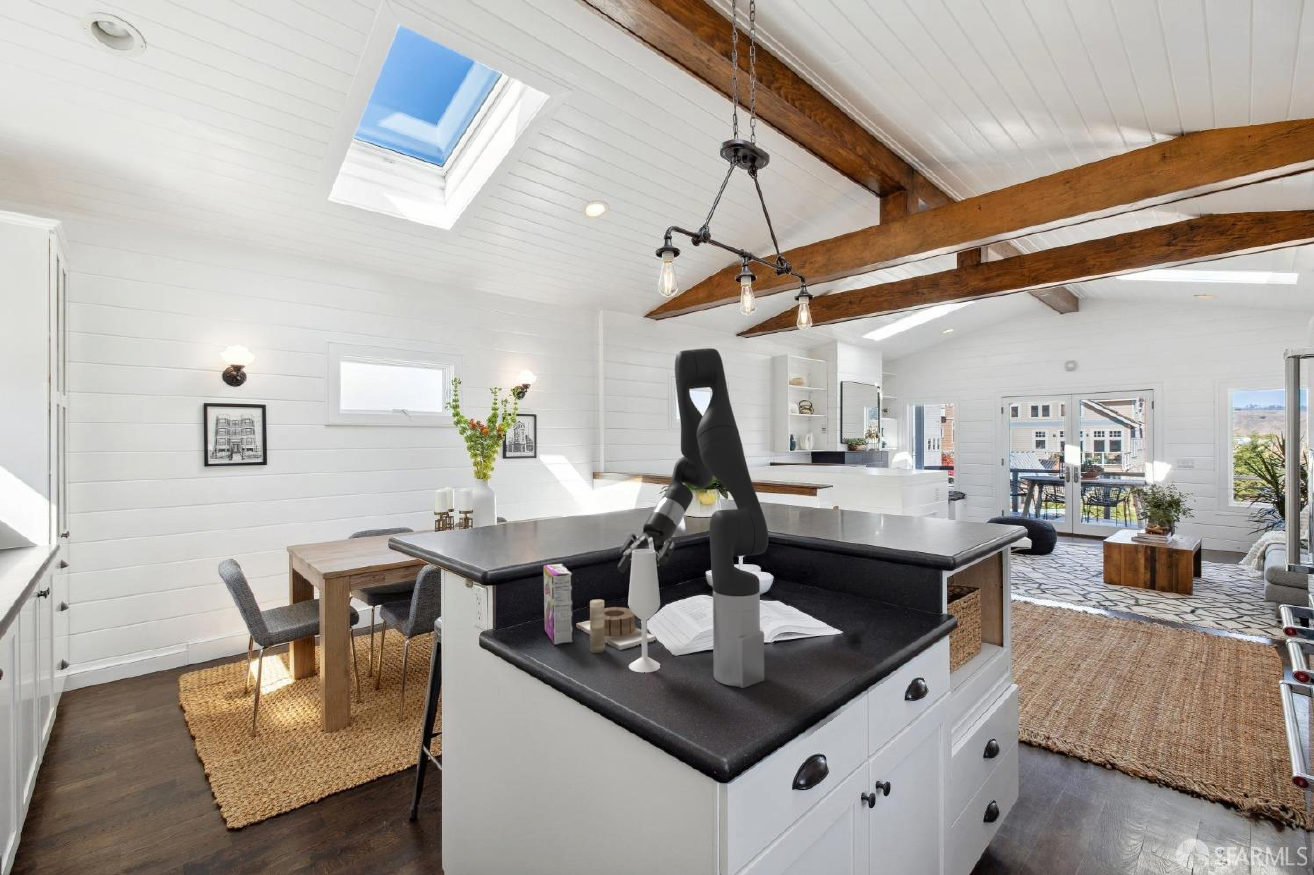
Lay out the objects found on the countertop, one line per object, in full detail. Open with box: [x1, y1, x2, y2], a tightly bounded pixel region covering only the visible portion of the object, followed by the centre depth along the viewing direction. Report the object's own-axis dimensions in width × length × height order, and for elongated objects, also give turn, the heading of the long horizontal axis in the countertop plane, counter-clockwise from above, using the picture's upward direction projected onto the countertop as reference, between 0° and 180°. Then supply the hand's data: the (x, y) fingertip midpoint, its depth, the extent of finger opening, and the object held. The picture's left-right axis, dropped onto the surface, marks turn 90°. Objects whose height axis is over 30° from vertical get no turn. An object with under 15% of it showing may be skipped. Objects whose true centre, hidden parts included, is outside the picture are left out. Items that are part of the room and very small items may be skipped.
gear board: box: [575, 606, 656, 651], centre depth 142 cm, size 20×10×5 cm, turn 37°
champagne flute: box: [627, 548, 661, 673], centre depth 122 cm, size 7×7×24 cm
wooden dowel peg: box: [589, 598, 606, 654], centre depth 131 cm, size 3×3×11 cm
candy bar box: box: [543, 563, 574, 645], centre depth 140 cm, size 11×5×16 cm, turn 22°
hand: (632, 573), depth 139 cm, fingers open, 8 cm apart
